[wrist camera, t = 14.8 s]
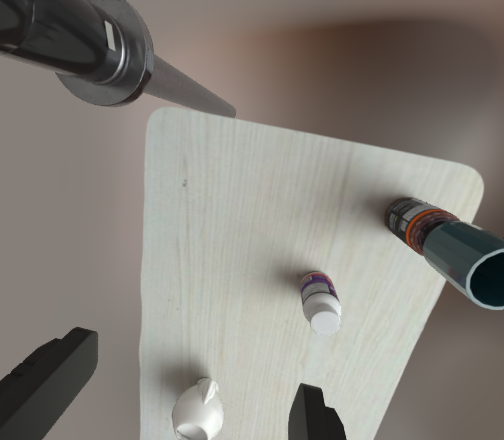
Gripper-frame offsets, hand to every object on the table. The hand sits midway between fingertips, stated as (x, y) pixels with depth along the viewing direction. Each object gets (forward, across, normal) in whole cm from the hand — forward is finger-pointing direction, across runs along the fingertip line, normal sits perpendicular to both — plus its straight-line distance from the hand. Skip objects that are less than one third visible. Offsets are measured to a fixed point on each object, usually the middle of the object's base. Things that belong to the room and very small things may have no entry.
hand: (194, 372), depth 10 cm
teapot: (+32, +2, +42) cm, 53 cm away
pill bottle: (+32, -13, +13) cm, 37 cm away
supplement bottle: (+32, -22, -2) cm, 39 cm away
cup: (+20, -22, -2) cm, 30 cm away
